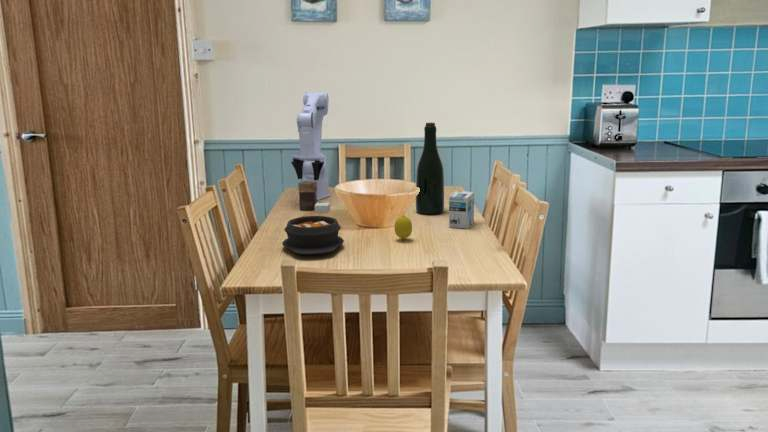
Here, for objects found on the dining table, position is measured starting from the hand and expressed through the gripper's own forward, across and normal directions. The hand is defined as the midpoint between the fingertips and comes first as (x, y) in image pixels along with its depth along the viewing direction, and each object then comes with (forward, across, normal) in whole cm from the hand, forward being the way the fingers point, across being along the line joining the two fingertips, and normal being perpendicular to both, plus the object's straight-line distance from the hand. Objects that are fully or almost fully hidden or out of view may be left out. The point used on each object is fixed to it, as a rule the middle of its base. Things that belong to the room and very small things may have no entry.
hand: (308, 179), depth 252 cm
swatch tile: (+10, +3, +4) cm, 12 cm away
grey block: (+11, +10, -5) cm, 16 cm away
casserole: (+12, +34, -47) cm, 59 cm away
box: (+11, +3, -4) cm, 12 cm away
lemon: (+12, +55, -27) cm, 62 cm away
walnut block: (+3, +3, -4) cm, 6 cm away
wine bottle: (+11, +47, +11) cm, 49 cm away
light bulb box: (+11, +64, -2) cm, 65 cm away
